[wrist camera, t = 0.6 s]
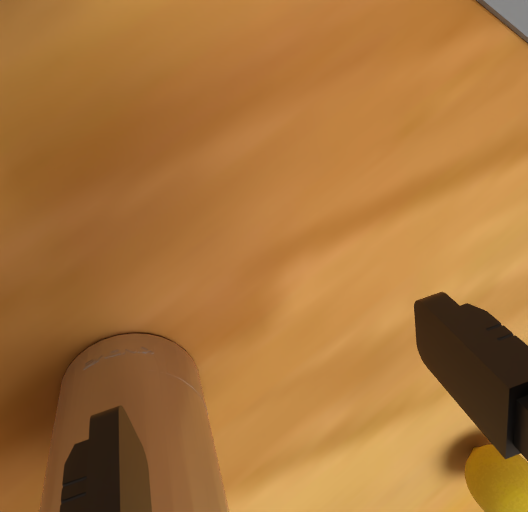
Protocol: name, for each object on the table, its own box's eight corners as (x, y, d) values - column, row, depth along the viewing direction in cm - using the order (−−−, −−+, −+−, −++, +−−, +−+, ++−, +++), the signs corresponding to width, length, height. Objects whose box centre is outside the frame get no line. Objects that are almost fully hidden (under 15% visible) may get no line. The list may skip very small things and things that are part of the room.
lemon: (464, 423, 45) (528, 498, 38) (510, 427, 47) (579, 499, 40) (437, 470, 47) (494, 549, 40) (483, 472, 48) (545, 548, 41)
